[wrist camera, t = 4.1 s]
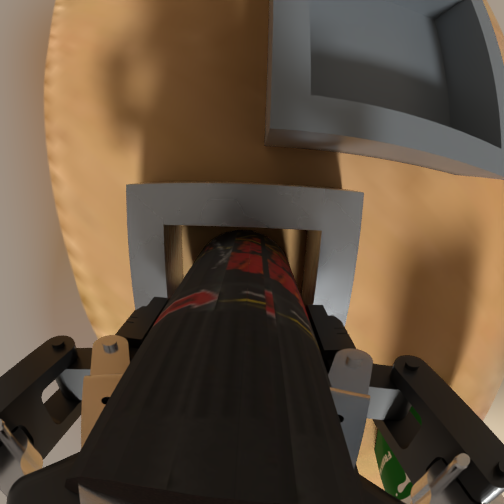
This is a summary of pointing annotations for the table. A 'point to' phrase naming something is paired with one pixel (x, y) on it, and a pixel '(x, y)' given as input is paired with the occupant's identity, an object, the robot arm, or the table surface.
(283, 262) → the deodorant
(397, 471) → the milk carton
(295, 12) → the bin
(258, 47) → the table surface
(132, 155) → the table surface
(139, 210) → the socket collar
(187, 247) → the table surface
